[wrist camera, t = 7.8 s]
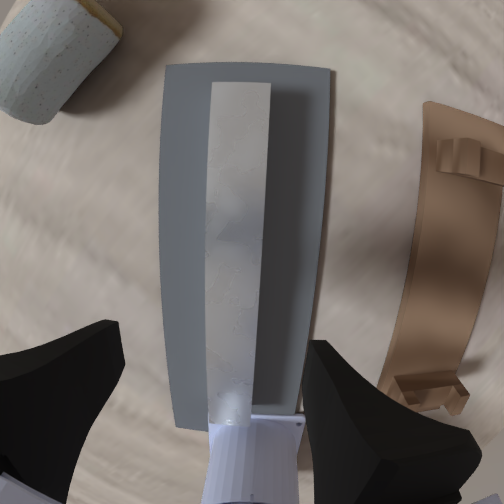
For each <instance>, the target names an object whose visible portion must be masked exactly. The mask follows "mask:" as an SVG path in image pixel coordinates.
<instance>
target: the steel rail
mask: <svg viewBox="0 0 504 504" xmlns="http://www.w3.org/2000/svg"><path fill="white" fill-rule="evenodd" d="M270 94H271V83H257V82H212V91H211V106H210V122H209V141H208V162H207V189H206V229H205V330H206V369H207V395H208V416H209V423H211V424H220V425H230V426H242V427H250V420H251V408H252V394H253V380H254V366H255V351H256V337H257V322H258V306H259V291H260V275H261V259H262V242H263V225H264V208H265V190H266V172H267V154H268V134H269V115H270Z"/></svg>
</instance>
